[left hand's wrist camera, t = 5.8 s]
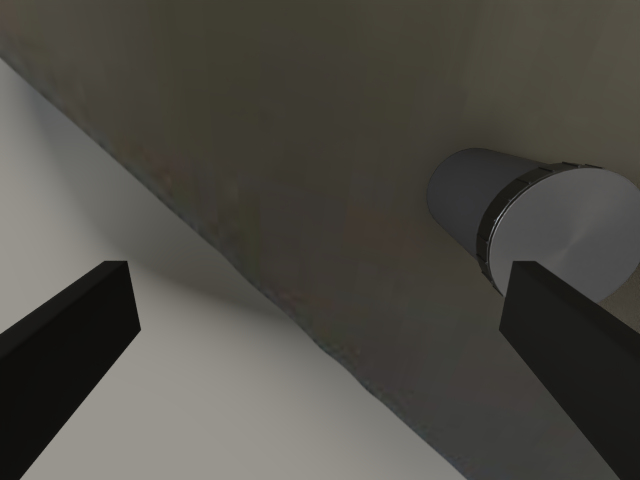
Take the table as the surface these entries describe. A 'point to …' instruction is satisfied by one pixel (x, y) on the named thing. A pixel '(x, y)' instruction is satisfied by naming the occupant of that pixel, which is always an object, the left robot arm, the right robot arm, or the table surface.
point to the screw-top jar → (471, 189)
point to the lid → (564, 228)
